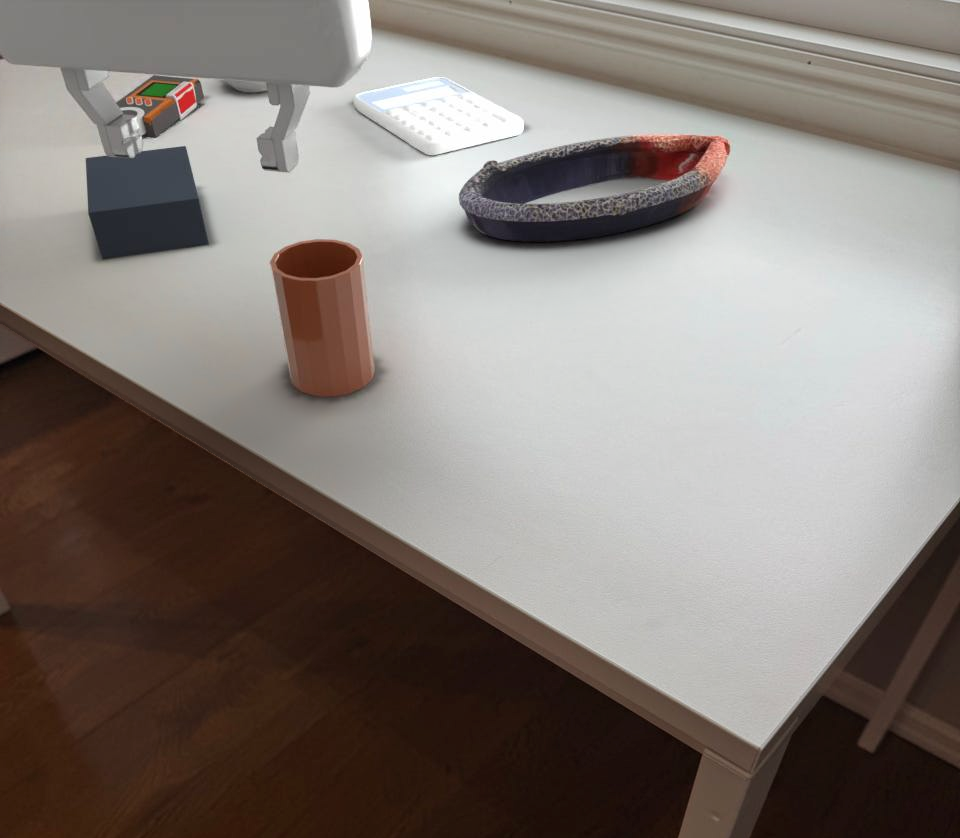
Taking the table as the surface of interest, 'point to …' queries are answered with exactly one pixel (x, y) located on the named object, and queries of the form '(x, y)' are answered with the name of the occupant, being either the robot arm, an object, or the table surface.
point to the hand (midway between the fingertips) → (202, 161)
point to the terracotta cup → (324, 316)
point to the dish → (512, 183)
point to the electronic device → (161, 102)
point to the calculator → (438, 115)
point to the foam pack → (144, 203)
